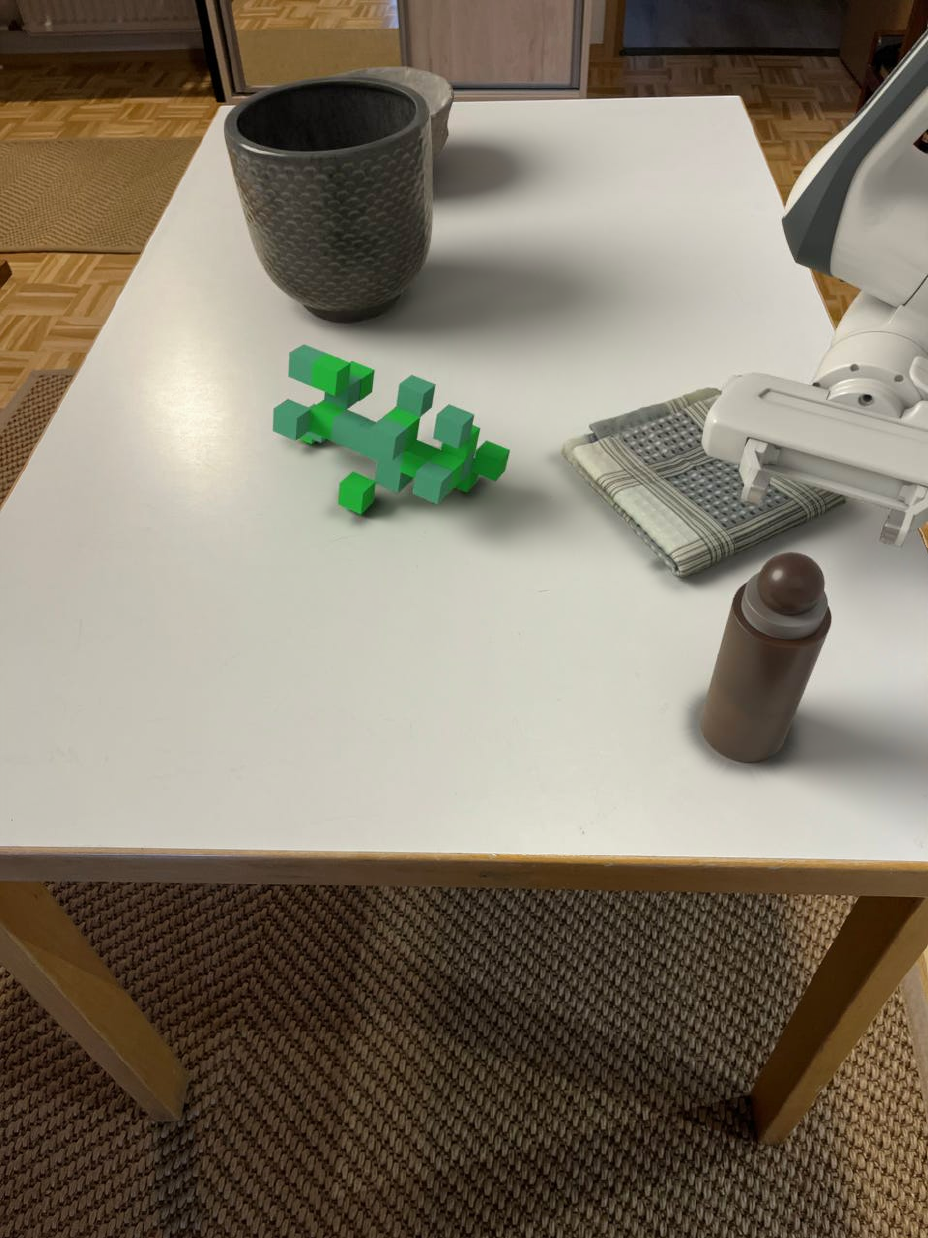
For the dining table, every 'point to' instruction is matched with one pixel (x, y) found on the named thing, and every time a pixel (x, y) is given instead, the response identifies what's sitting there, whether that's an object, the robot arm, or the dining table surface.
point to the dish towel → (685, 485)
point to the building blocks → (386, 432)
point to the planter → (336, 190)
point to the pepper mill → (766, 658)
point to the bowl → (427, 86)
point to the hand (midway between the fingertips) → (820, 516)
